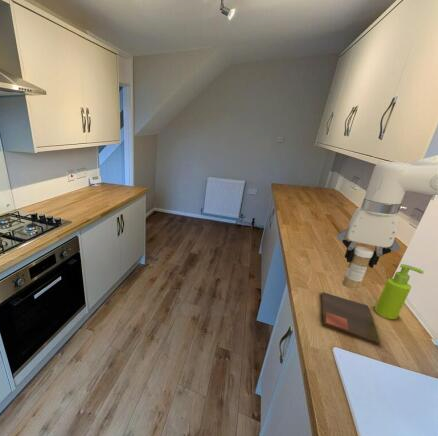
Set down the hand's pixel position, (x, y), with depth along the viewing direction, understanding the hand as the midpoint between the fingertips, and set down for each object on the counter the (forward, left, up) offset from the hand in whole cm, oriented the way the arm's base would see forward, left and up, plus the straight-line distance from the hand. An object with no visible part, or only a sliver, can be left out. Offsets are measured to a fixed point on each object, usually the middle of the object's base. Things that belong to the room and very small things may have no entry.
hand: (359, 262), depth 73 cm
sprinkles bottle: (0, 0, -9) cm, 9 cm away
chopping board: (-7, -2, -24) cm, 25 cm away
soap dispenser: (-23, -1, -24) cm, 33 cm away
